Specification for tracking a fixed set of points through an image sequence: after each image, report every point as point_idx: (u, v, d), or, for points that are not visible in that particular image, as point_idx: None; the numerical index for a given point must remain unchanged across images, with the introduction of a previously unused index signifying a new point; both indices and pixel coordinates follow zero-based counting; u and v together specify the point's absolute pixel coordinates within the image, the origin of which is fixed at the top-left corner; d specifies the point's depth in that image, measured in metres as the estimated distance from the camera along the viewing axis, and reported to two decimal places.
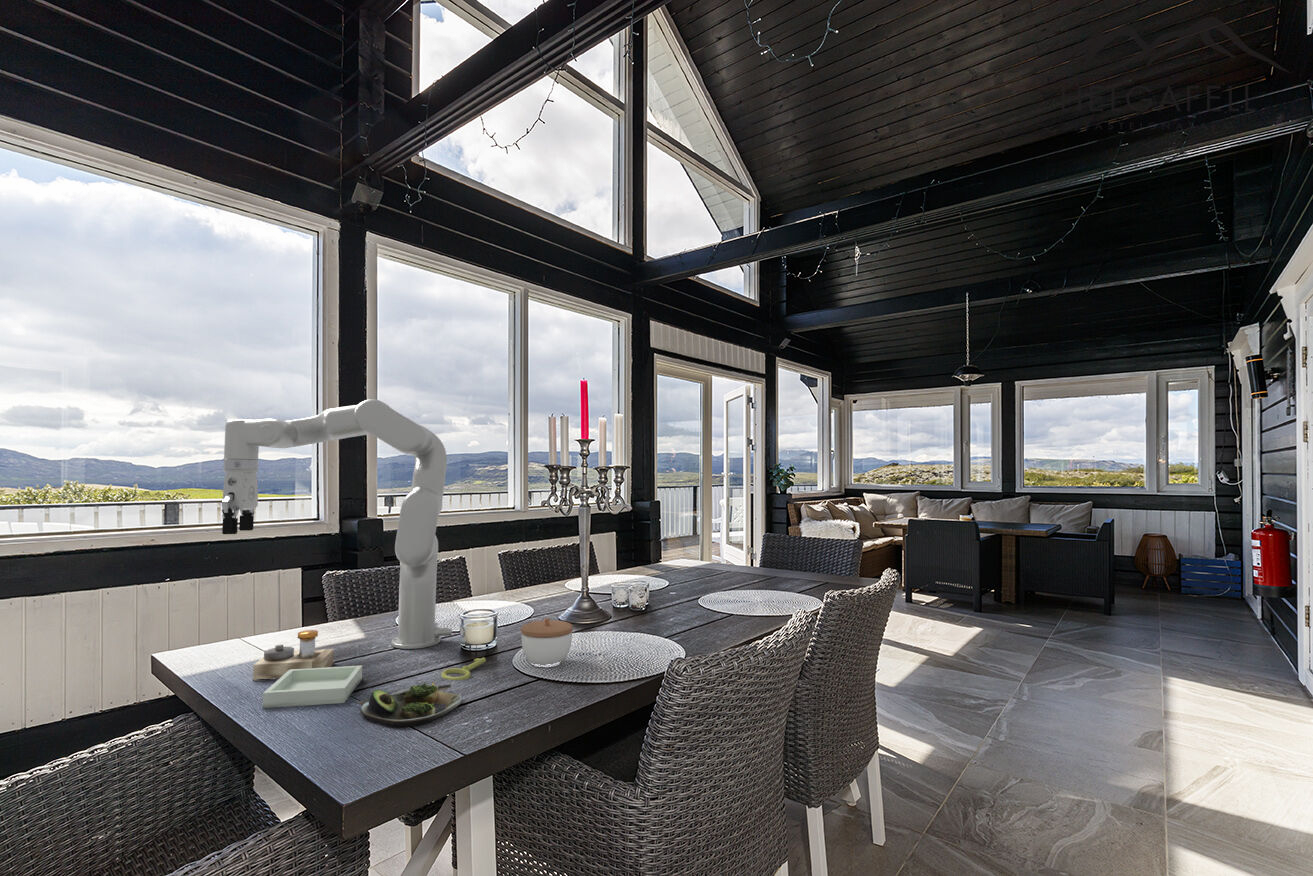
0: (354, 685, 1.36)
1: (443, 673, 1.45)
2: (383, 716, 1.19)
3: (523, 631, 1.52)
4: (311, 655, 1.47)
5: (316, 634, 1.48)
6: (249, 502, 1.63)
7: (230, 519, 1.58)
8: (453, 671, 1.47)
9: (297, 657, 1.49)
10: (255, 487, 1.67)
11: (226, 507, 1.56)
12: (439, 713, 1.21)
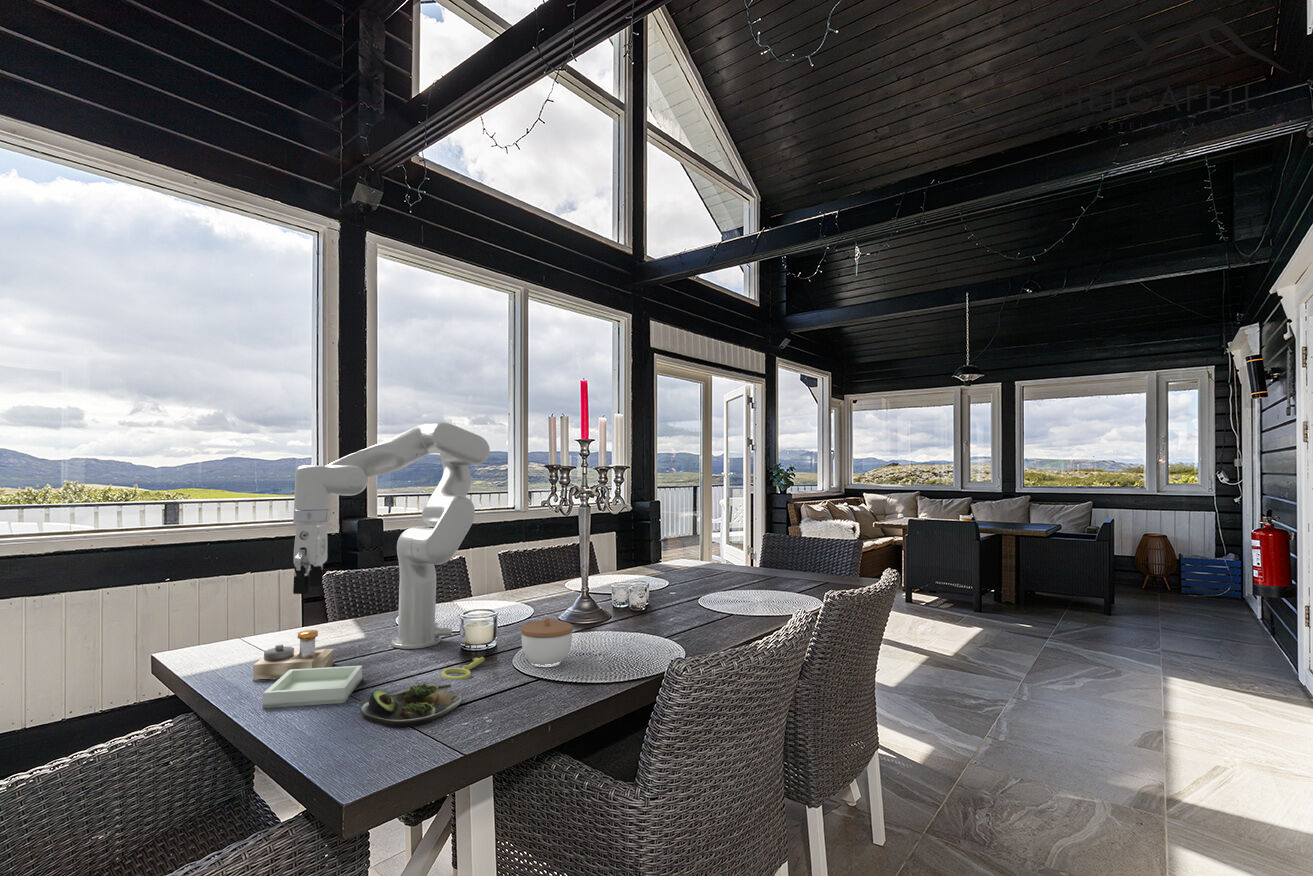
0: (354, 685, 1.36)
1: (443, 673, 1.45)
2: (383, 716, 1.19)
3: (523, 631, 1.52)
4: (311, 655, 1.47)
5: (316, 634, 1.48)
6: (321, 557, 1.49)
7: (302, 577, 1.43)
8: (453, 671, 1.48)
9: (297, 657, 1.49)
10: (325, 539, 1.52)
11: (299, 565, 1.41)
12: (439, 713, 1.21)
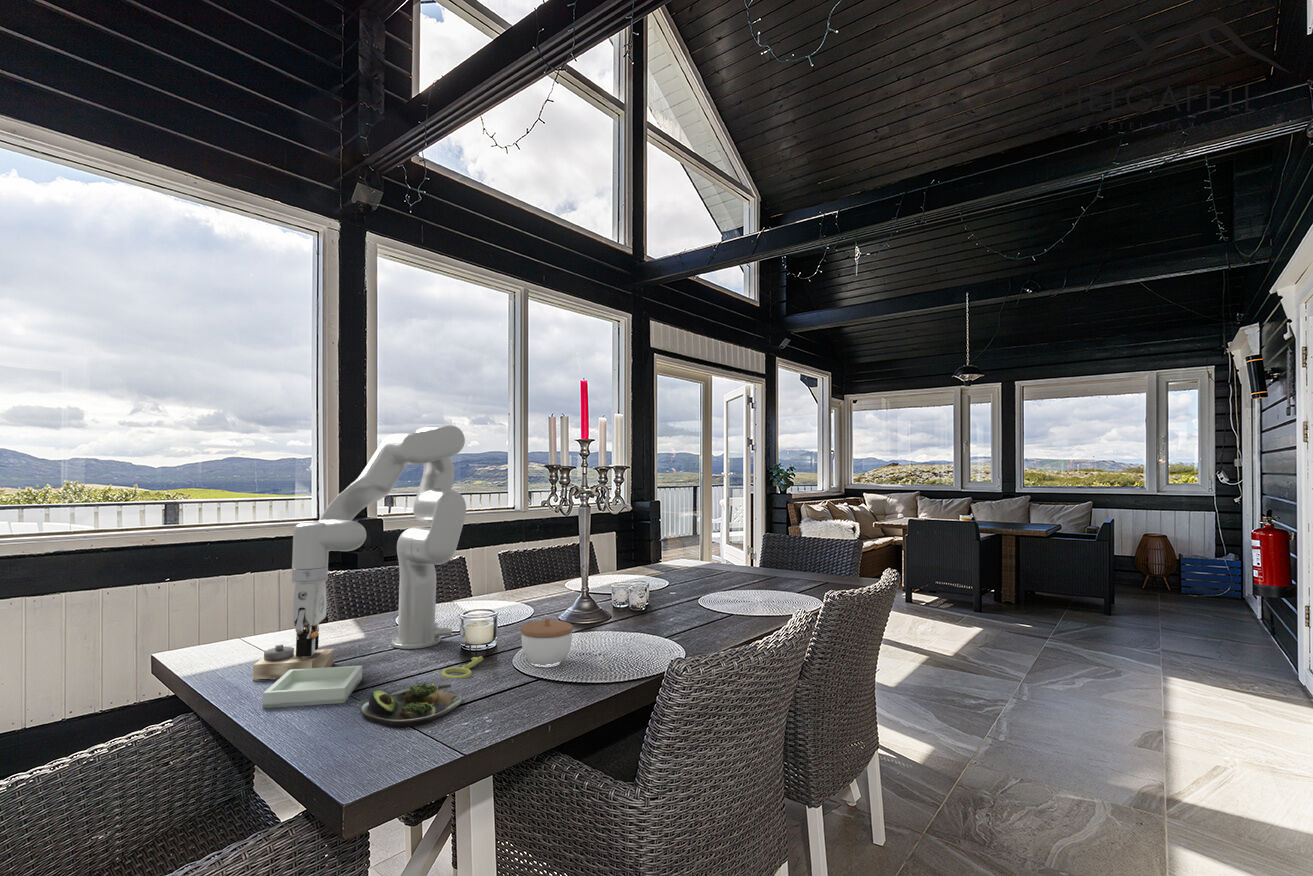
0: (354, 685, 1.36)
1: (443, 672, 1.46)
2: (383, 716, 1.19)
3: (523, 631, 1.52)
4: (311, 655, 1.47)
5: (316, 634, 1.48)
6: (319, 615, 1.48)
7: (304, 640, 1.45)
8: (453, 670, 1.48)
9: (297, 657, 1.49)
10: (324, 596, 1.52)
11: (301, 632, 1.43)
12: (439, 713, 1.21)
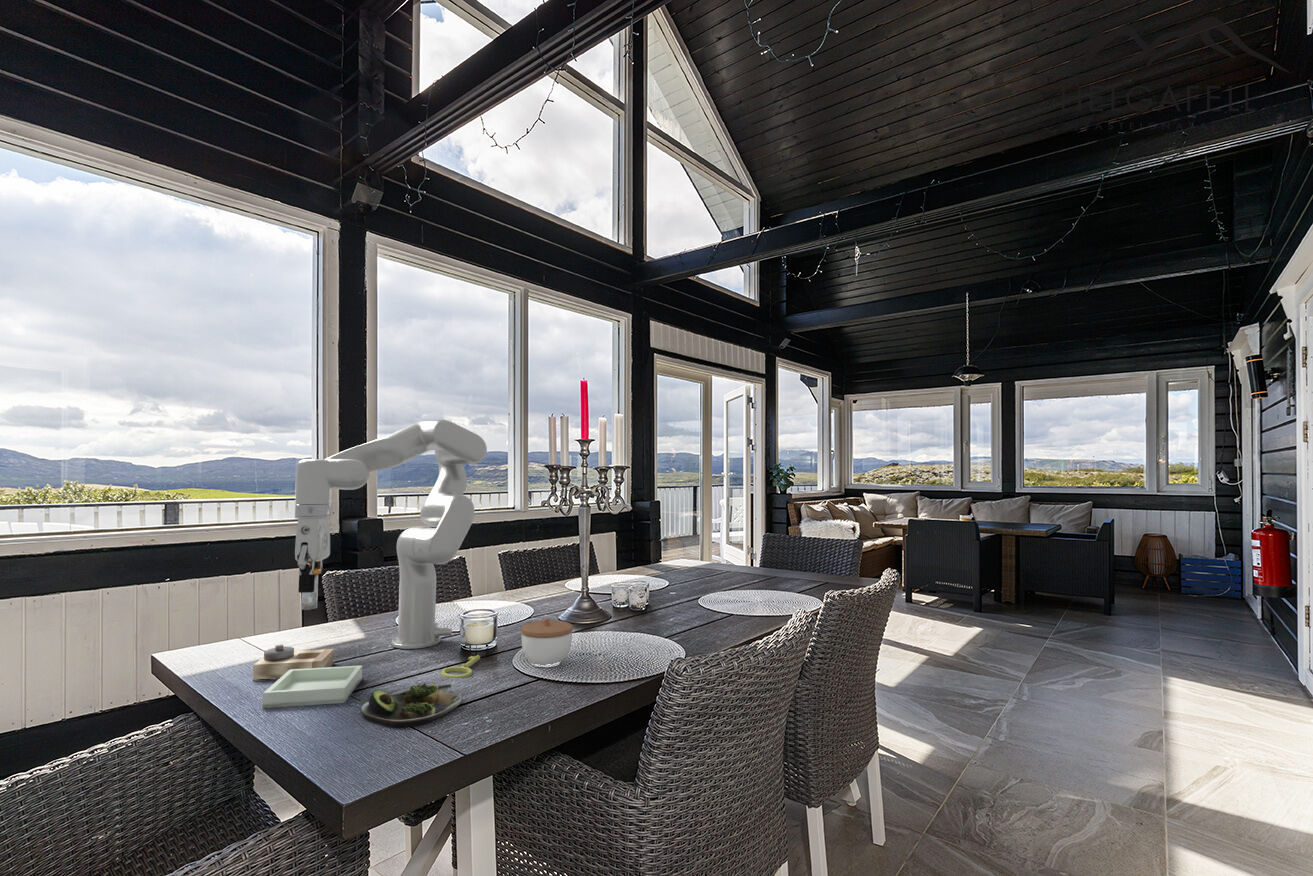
0: (354, 685, 1.36)
1: (443, 672, 1.46)
2: (383, 716, 1.19)
3: (523, 631, 1.52)
4: (314, 592, 1.46)
5: (319, 571, 1.47)
6: (322, 552, 1.46)
7: (307, 576, 1.44)
8: (452, 670, 1.48)
9: (297, 657, 1.49)
10: (328, 534, 1.50)
11: (303, 567, 1.41)
12: (439, 713, 1.21)
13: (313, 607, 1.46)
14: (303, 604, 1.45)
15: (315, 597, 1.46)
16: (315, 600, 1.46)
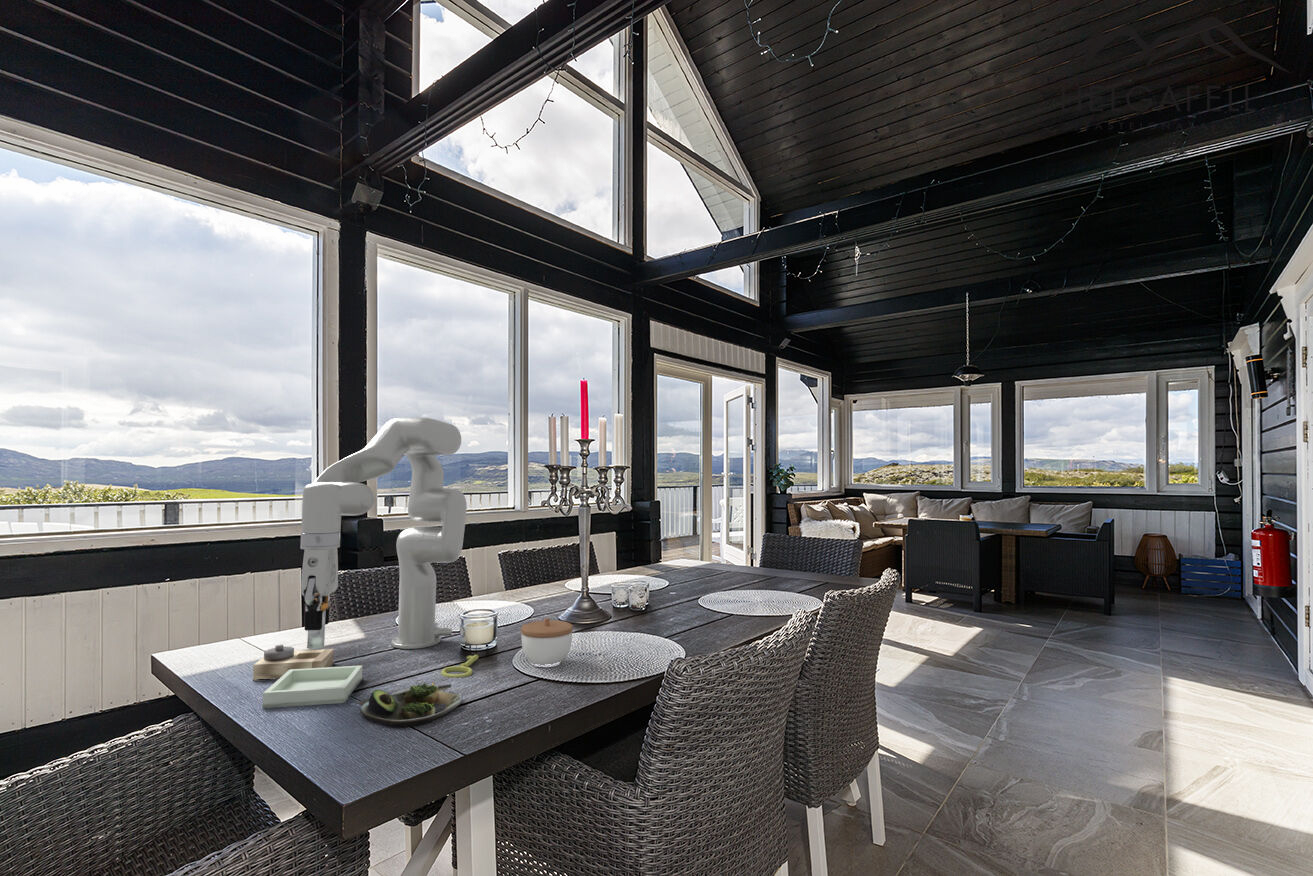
0: (354, 685, 1.36)
1: (443, 672, 1.46)
2: (383, 716, 1.19)
3: (523, 631, 1.52)
4: (321, 629, 1.33)
5: (326, 606, 1.34)
6: (331, 585, 1.34)
7: (314, 612, 1.31)
8: (452, 669, 1.49)
9: (297, 657, 1.49)
10: (336, 565, 1.38)
11: (310, 602, 1.29)
12: (439, 713, 1.21)
13: (320, 646, 1.33)
14: (309, 643, 1.32)
15: (322, 635, 1.34)
16: (322, 638, 1.34)
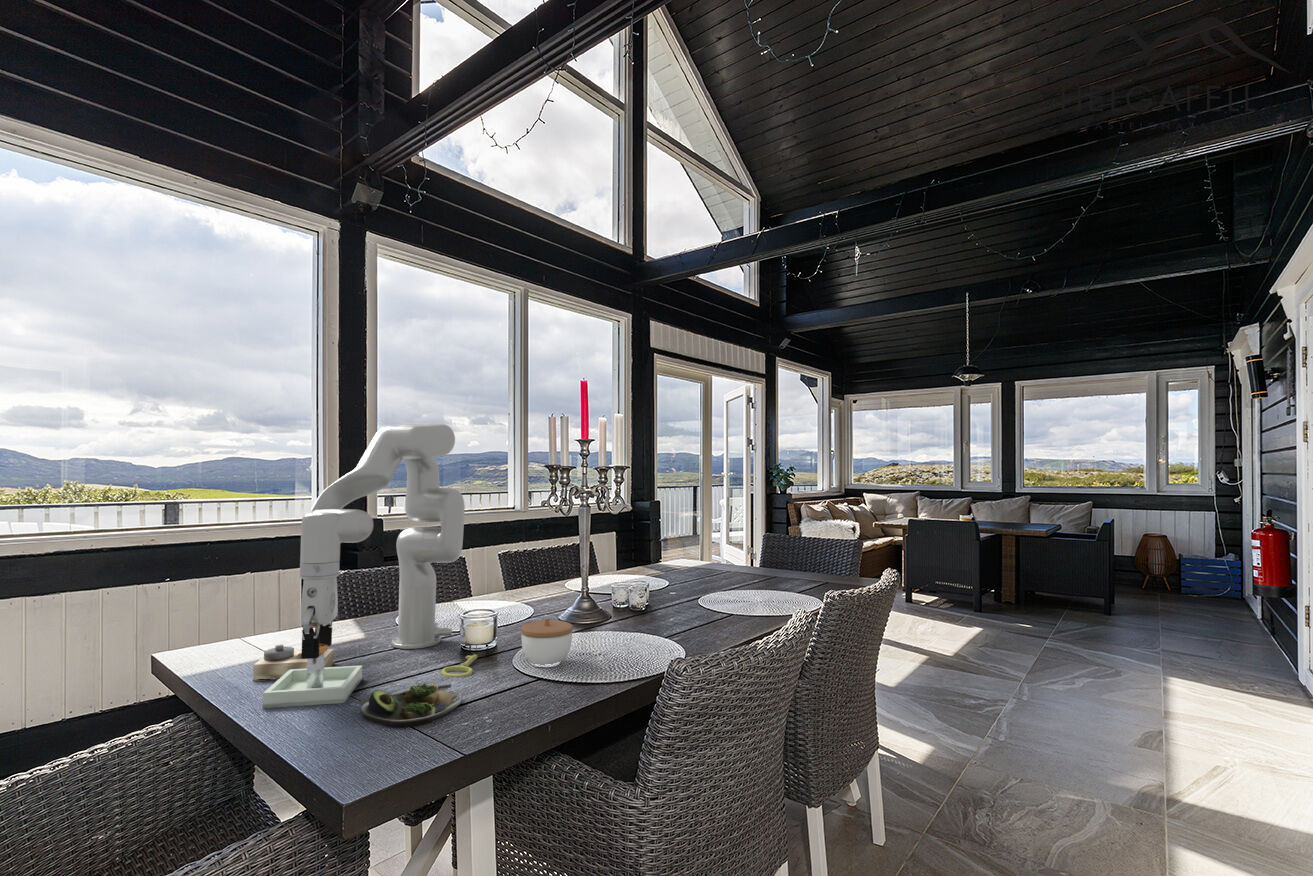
0: (354, 685, 1.36)
1: (444, 671, 1.46)
2: (383, 716, 1.19)
3: (523, 631, 1.52)
4: (320, 672, 1.33)
5: (325, 648, 1.34)
6: (330, 614, 1.34)
7: (311, 640, 1.29)
8: (452, 669, 1.49)
9: (297, 657, 1.49)
10: (335, 593, 1.38)
11: (307, 628, 1.27)
12: (439, 713, 1.21)
13: None
14: (308, 686, 1.32)
15: (321, 677, 1.33)
16: (321, 680, 1.33)
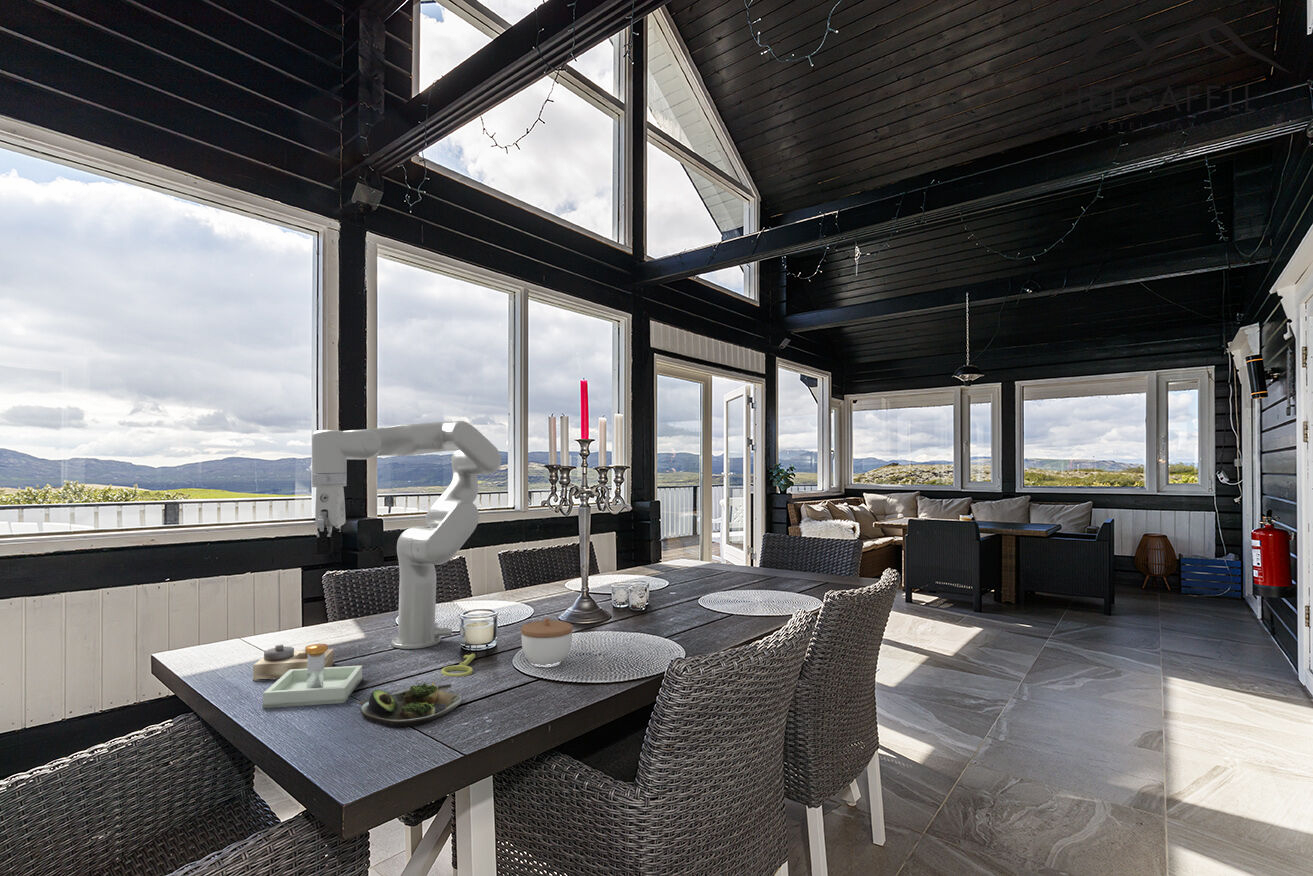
0: (354, 685, 1.36)
1: (444, 671, 1.47)
2: (383, 716, 1.19)
3: (523, 631, 1.52)
4: (320, 672, 1.33)
5: (326, 648, 1.34)
6: (341, 519, 1.53)
7: (325, 538, 1.48)
8: (451, 669, 1.49)
9: (297, 657, 1.49)
10: (343, 502, 1.56)
11: (322, 526, 1.45)
12: (439, 713, 1.21)
13: None
14: (308, 686, 1.32)
15: (321, 677, 1.33)
16: (321, 680, 1.33)
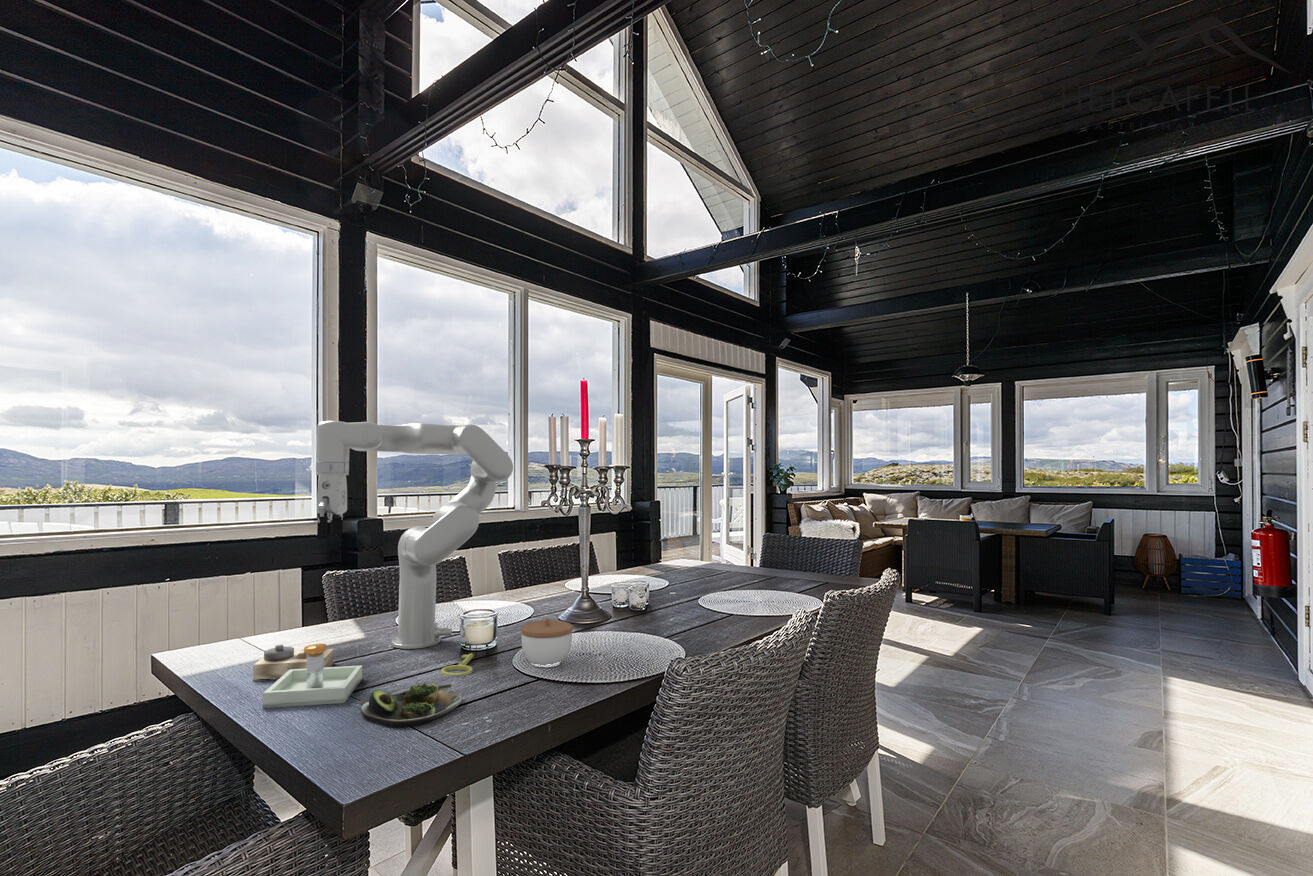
0: (354, 685, 1.36)
1: (444, 671, 1.47)
2: (383, 716, 1.19)
3: (523, 631, 1.52)
4: (320, 672, 1.33)
5: (325, 648, 1.34)
6: (341, 506, 1.59)
7: (325, 524, 1.54)
8: (450, 668, 1.49)
9: (297, 657, 1.49)
10: (345, 491, 1.63)
11: (322, 511, 1.52)
12: (439, 713, 1.21)
13: None
14: (308, 686, 1.32)
15: (321, 677, 1.33)
16: (321, 680, 1.33)
